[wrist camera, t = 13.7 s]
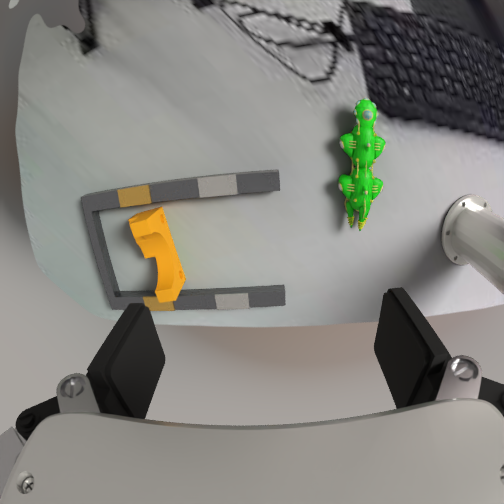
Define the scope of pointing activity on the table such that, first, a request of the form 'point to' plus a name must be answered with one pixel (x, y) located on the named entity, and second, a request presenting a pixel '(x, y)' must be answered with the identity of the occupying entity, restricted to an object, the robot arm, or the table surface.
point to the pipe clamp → (159, 251)
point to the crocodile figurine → (361, 162)
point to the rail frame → (175, 191)
